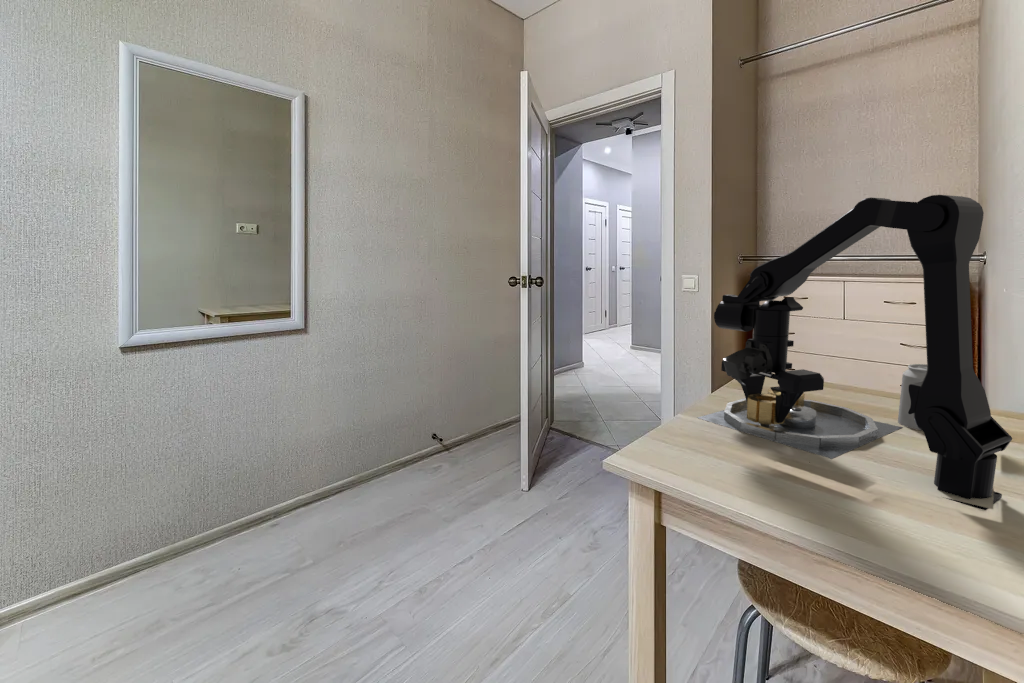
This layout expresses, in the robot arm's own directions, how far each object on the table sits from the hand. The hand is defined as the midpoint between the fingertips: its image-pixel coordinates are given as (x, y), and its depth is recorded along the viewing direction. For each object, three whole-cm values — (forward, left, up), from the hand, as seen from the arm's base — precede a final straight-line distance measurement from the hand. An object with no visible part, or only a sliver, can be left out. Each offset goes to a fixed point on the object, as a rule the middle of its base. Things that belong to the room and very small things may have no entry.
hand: (765, 417), depth 90 cm
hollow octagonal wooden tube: (0, 0, 0) cm, 0 cm away
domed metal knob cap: (+7, -2, -2) cm, 7 cm away
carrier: (+7, -2, -3) cm, 7 cm away
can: (+24, -16, -3) cm, 29 cm away
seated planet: (+12, +3, -2) cm, 12 cm away
